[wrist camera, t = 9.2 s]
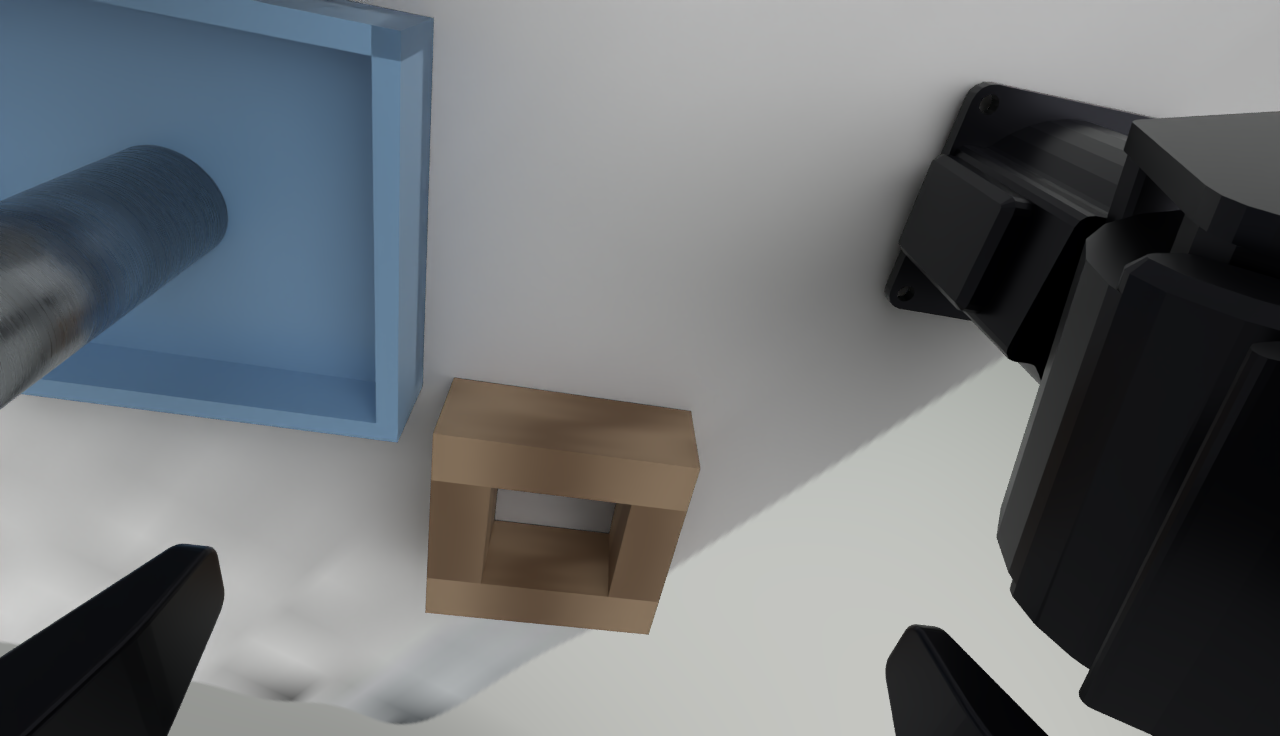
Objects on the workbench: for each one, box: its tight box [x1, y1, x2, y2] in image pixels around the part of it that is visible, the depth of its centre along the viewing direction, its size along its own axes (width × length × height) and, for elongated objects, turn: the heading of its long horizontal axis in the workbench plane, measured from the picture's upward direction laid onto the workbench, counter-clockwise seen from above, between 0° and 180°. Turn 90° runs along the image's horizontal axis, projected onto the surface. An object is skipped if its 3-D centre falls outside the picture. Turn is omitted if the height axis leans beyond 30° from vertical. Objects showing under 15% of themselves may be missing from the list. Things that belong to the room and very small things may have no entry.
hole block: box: [425, 378, 700, 634], centre depth 23 cm, size 8×8×3 cm
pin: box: [0, 145, 228, 409], centre depth 13 cm, size 4×4×11 cm
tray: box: [0, 0, 434, 442], centre depth 17 cm, size 13×11×3 cm
